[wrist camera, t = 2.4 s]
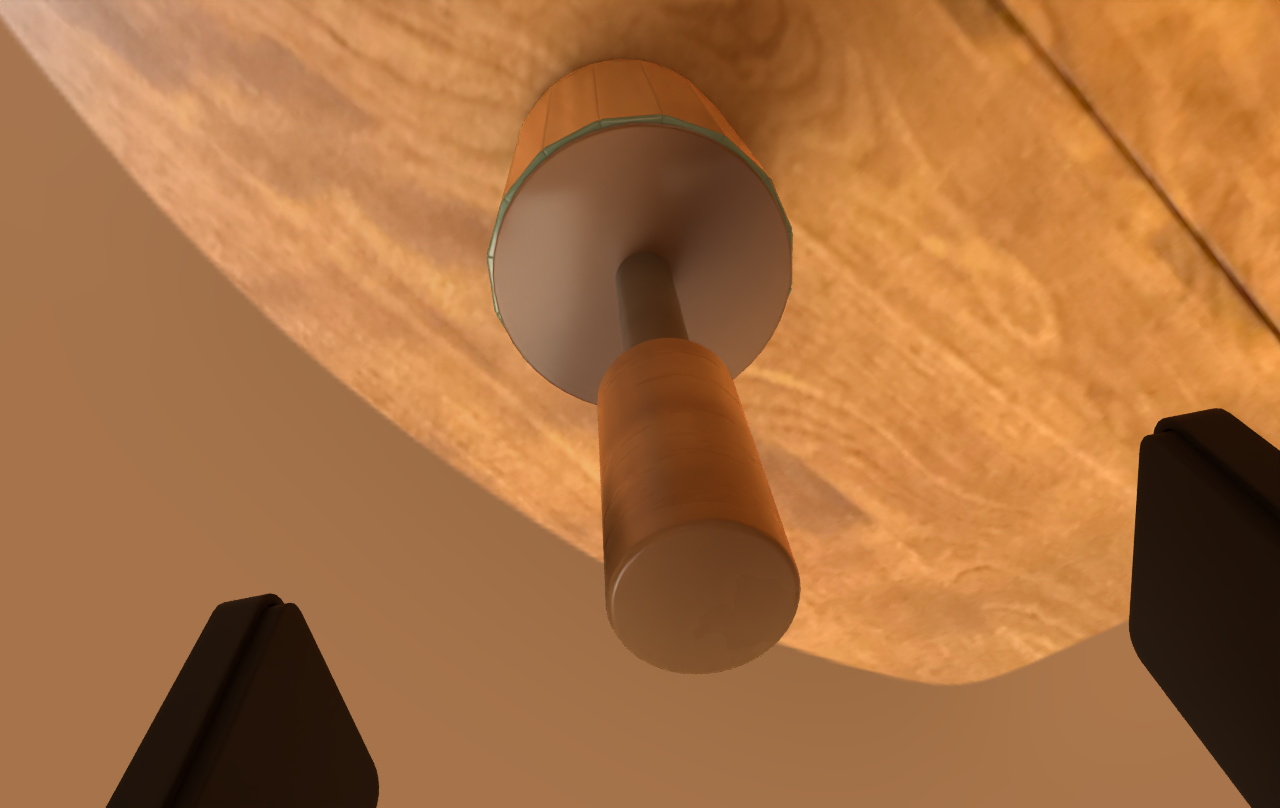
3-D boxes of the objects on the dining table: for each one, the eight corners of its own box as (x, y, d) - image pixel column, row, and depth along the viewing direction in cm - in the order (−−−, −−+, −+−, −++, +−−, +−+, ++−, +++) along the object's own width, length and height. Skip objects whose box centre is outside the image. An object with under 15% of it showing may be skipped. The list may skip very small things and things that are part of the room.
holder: (490, 241, 29) (457, 364, 21) (549, 26, 26) (536, 71, 18) (688, 301, 30) (728, 437, 22) (764, 101, 27) (841, 174, 19)
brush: (491, 250, 28) (360, 750, 11) (550, 34, 25) (496, 257, 8) (689, 308, 29) (845, 837, 12) (766, 109, 26) (1099, 434, 10)
